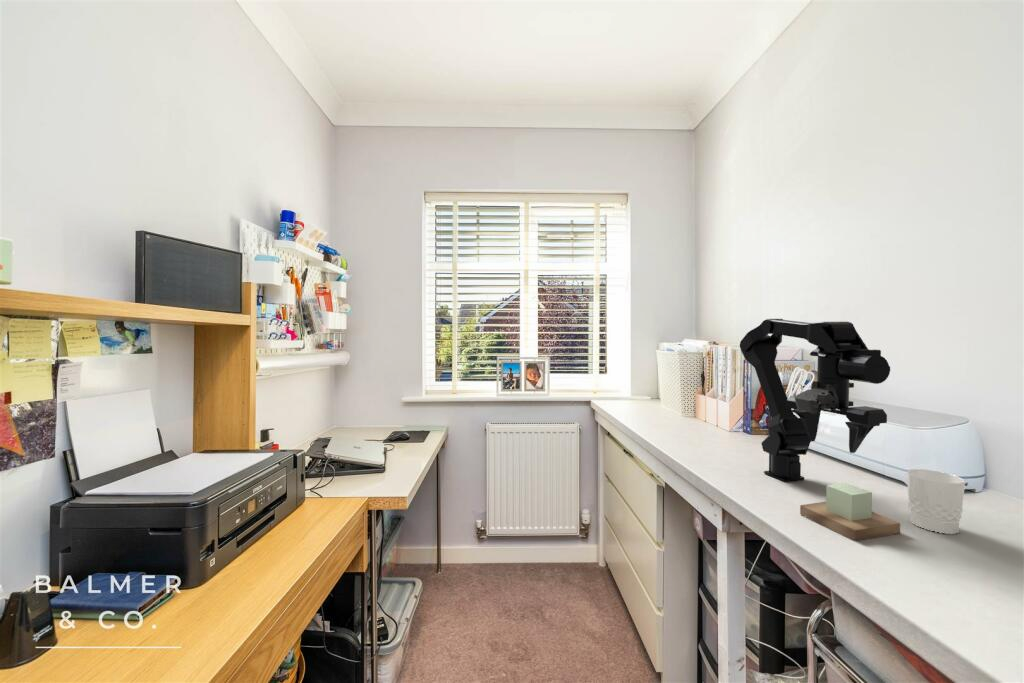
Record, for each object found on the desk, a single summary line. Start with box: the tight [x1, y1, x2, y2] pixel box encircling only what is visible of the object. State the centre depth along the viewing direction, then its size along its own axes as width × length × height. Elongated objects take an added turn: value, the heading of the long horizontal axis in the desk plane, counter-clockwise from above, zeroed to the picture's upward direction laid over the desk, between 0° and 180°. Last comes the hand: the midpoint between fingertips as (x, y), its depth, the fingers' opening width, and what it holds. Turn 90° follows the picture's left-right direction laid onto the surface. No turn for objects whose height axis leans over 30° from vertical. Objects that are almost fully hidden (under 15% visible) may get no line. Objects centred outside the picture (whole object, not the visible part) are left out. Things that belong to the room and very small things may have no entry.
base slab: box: [799, 501, 901, 542], centre depth 83 cm, size 11×11×2 cm
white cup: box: [906, 468, 966, 535], centre depth 81 cm, size 8×8×10 cm
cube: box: [825, 482, 873, 521], centre depth 83 cm, size 5×5×5 cm
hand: (831, 446), depth 94 cm, fingers open, 9 cm apart
